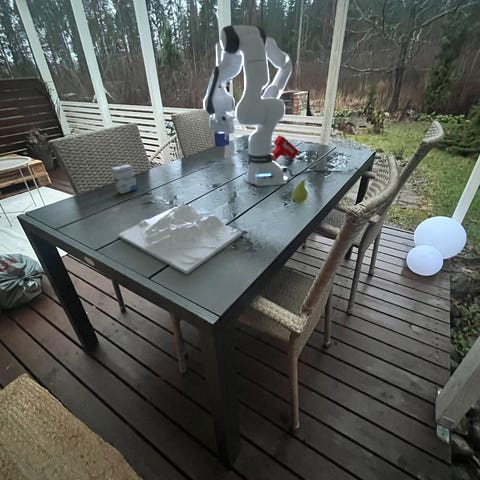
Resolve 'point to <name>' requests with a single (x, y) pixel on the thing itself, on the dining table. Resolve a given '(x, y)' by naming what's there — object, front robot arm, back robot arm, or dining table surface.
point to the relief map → (181, 237)
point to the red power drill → (284, 148)
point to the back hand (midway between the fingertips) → (223, 92)
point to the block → (221, 139)
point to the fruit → (300, 192)
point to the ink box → (124, 178)
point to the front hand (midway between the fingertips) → (221, 139)
